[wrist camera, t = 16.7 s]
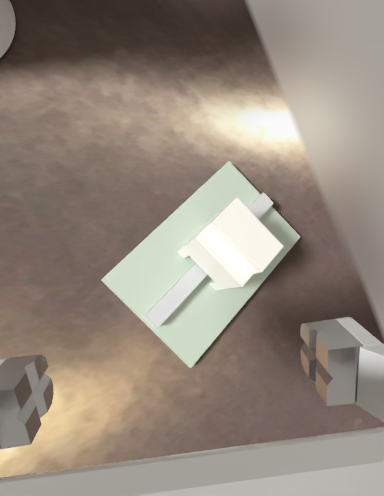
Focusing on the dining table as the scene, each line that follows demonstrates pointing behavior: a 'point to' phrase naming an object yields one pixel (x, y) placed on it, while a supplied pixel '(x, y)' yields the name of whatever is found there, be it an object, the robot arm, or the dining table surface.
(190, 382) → the dining table surface
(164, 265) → the rail board
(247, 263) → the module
